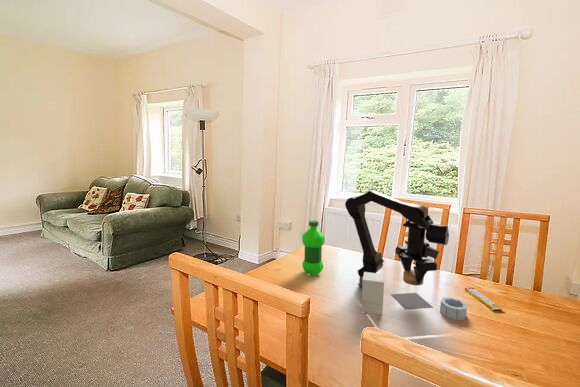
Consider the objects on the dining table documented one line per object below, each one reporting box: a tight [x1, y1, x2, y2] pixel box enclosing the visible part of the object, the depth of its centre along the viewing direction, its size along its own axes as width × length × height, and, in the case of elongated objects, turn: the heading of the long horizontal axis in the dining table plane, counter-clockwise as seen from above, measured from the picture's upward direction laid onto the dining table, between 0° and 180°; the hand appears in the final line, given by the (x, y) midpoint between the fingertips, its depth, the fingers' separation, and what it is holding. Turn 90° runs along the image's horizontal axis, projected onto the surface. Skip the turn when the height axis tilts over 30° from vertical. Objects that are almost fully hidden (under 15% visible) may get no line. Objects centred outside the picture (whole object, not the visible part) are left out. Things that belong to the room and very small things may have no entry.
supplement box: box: [361, 272, 385, 316], centre depth 104 cm, size 7×7×13 cm
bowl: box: [439, 296, 468, 321], centre depth 101 cm, size 8×8×4 cm
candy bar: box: [464, 287, 504, 311], centre depth 112 cm, size 17×4×2 cm, turn 3°
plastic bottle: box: [301, 220, 326, 276], centre depth 133 cm, size 10×10×25 cm
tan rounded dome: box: [402, 269, 425, 286], centre depth 108 cm, size 7×7×3 cm
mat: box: [390, 292, 434, 310], centre depth 110 cm, size 11×11×1 cm
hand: (413, 279), depth 108 cm, fingers closed on tan rounded dome, 7 cm apart
